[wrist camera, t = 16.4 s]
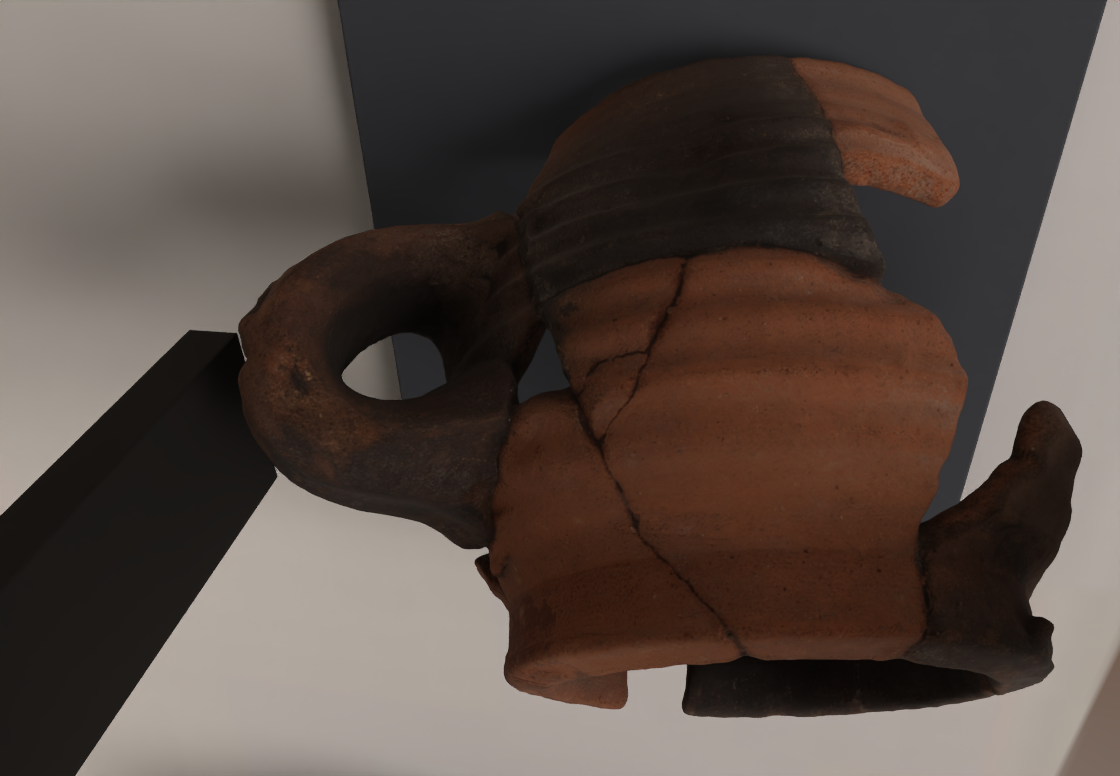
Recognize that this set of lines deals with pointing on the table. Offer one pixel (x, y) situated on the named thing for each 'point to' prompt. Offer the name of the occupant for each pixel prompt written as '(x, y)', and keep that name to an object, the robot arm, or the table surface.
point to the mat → (721, 32)
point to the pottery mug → (687, 408)
